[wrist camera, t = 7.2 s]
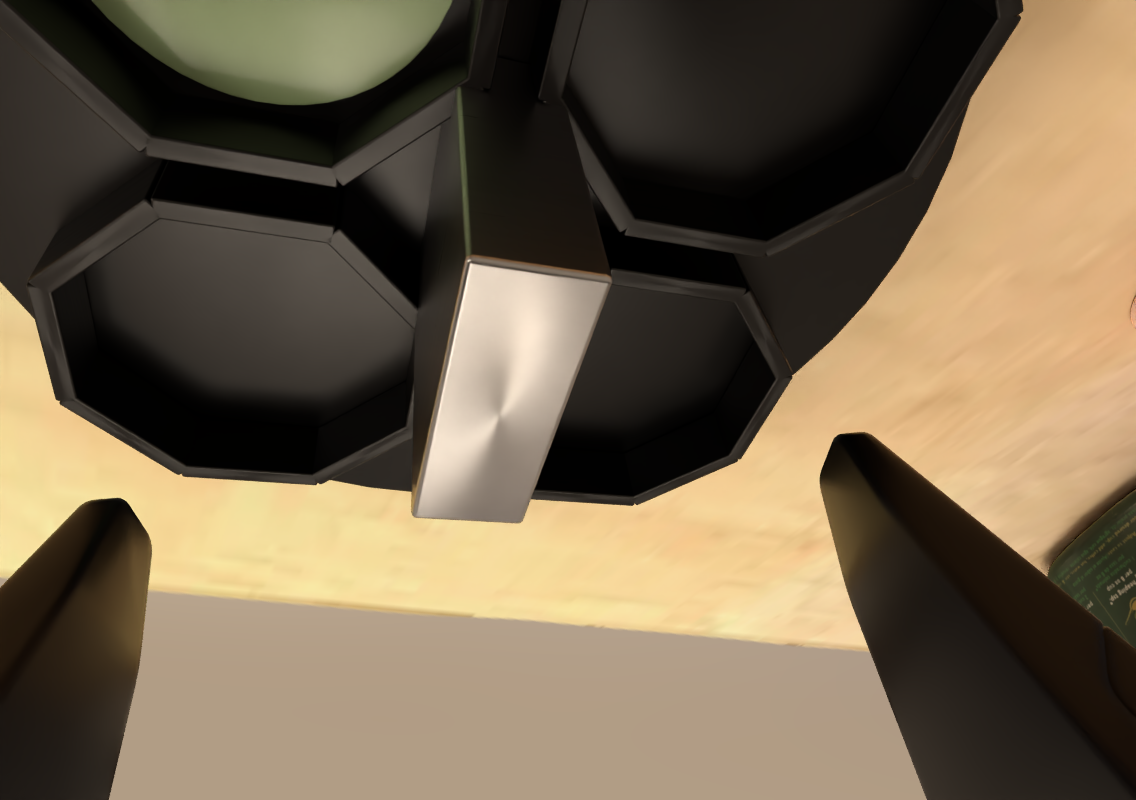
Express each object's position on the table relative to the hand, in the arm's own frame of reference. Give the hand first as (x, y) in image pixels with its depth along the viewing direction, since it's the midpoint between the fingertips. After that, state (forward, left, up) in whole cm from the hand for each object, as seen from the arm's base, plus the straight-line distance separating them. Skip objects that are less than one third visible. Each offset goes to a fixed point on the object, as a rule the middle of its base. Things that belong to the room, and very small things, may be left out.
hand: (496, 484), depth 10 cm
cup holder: (0, 0, -8) cm, 8 cm away
